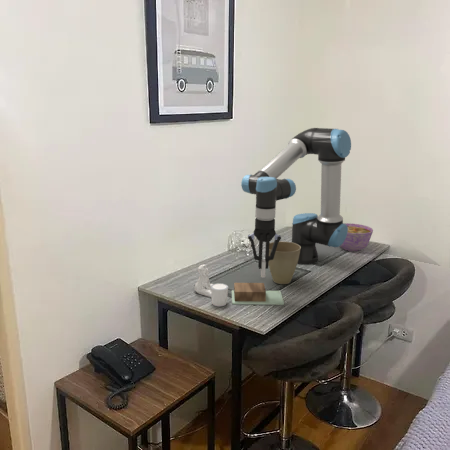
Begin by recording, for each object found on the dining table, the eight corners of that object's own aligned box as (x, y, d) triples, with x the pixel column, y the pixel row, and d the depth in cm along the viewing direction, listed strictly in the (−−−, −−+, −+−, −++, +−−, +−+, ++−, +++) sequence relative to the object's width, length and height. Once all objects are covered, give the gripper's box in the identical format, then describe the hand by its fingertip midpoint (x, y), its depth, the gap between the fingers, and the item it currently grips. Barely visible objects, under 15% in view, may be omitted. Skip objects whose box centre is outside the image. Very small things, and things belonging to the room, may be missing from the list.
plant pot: (291, 273, 207) (293, 240, 203) (303, 286, 193) (306, 250, 189) (260, 275, 204) (261, 242, 200) (270, 289, 190) (271, 252, 186)
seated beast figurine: (213, 298, 181) (213, 269, 177) (191, 296, 182) (191, 268, 179) (217, 288, 190) (217, 261, 186) (197, 287, 191) (197, 260, 188)
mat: (280, 292, 187) (280, 290, 187) (284, 304, 176) (284, 303, 175) (231, 291, 187) (231, 290, 187) (232, 304, 175) (232, 302, 175)
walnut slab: (263, 283, 184) (234, 282, 184) (265, 292, 176) (234, 291, 176) (263, 292, 185) (234, 291, 185) (265, 301, 177) (234, 301, 177)
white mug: (228, 306, 173) (229, 289, 171) (210, 307, 173) (211, 290, 171) (227, 299, 180) (227, 282, 178) (210, 299, 179) (210, 283, 177)
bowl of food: (363, 243, 253) (365, 223, 250) (376, 255, 234) (378, 233, 230) (328, 243, 252) (329, 223, 249) (338, 255, 233) (339, 233, 230)
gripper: (281, 215, 176) (278, 272, 182) (247, 215, 176) (245, 272, 182) (283, 220, 169) (280, 280, 175) (248, 220, 169) (246, 279, 175)
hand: (262, 276), depth 179 cm, fingers closed
